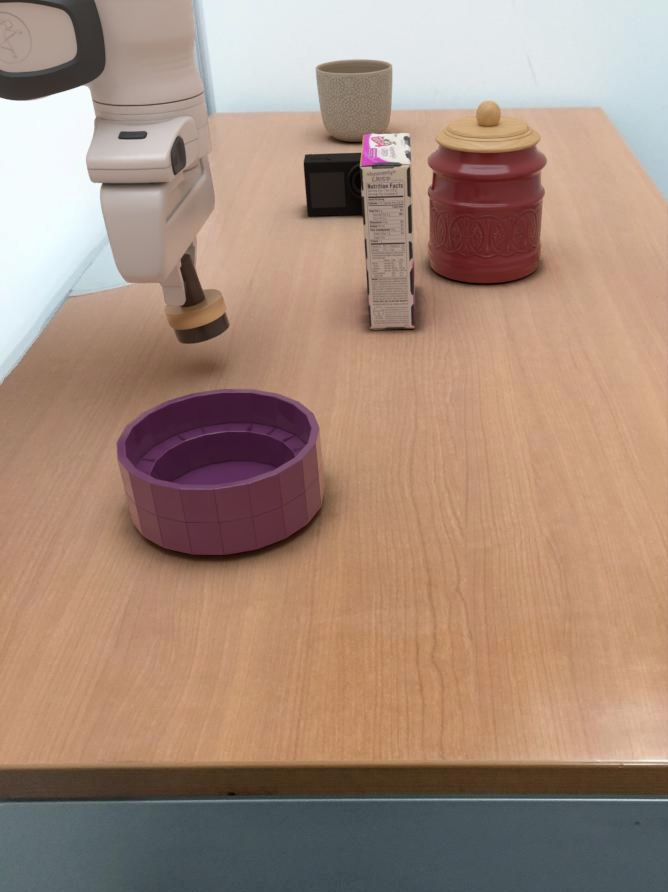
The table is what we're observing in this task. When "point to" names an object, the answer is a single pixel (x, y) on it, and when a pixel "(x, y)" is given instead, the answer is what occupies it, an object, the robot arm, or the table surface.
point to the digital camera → (333, 184)
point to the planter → (355, 97)
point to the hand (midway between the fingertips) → (182, 294)
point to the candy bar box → (388, 230)
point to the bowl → (222, 470)
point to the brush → (197, 309)
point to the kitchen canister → (486, 198)
